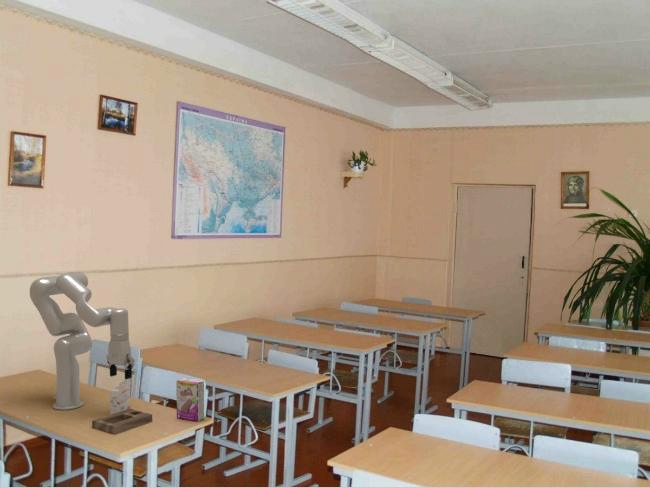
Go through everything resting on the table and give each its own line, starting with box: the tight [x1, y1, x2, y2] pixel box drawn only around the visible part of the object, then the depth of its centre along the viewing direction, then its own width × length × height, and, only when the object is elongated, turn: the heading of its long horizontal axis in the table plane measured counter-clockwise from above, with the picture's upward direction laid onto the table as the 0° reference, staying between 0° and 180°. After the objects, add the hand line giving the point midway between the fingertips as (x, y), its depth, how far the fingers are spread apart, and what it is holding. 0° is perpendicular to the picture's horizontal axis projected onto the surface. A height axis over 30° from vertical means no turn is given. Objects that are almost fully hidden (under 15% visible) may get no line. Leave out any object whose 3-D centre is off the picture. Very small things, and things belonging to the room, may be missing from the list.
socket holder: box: [91, 408, 153, 435], centre depth 263 cm, size 14×19×3 cm
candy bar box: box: [176, 377, 205, 422], centre depth 270 cm, size 11×5×16 cm, turn 65°
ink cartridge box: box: [109, 379, 131, 415], centre depth 275 cm, size 9×5×15 cm, turn 168°
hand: (120, 377), depth 275 cm, fingers open, 9 cm apart
